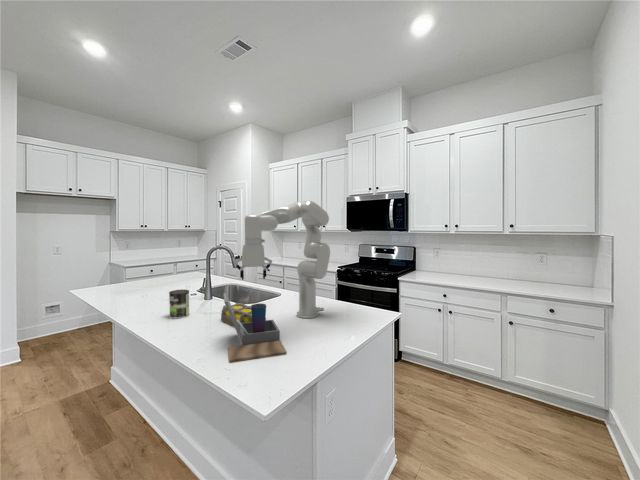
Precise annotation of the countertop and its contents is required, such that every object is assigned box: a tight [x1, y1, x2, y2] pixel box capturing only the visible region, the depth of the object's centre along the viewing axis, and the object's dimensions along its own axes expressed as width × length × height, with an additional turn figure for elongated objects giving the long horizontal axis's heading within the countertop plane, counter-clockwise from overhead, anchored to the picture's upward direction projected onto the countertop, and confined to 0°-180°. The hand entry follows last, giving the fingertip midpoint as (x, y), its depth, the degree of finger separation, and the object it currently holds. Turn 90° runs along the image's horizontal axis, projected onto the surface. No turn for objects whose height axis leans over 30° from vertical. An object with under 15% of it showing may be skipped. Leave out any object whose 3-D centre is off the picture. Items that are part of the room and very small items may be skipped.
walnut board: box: [227, 340, 287, 364], centre depth 117 cm, size 22×12×1 cm, turn 110°
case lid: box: [223, 292, 241, 337], centre depth 128 cm, size 16×16×1 cm
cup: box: [250, 303, 267, 333], centre depth 132 cm, size 7×7×15 cm
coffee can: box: [168, 289, 190, 320], centre depth 163 cm, size 10×10×14 cm
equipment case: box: [236, 319, 281, 346], centre depth 132 cm, size 18×16×12 cm
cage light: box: [220, 302, 267, 328], centre depth 153 cm, size 15×8×30 cm
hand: (253, 278), depth 133 cm, fingers open, 9 cm apart
